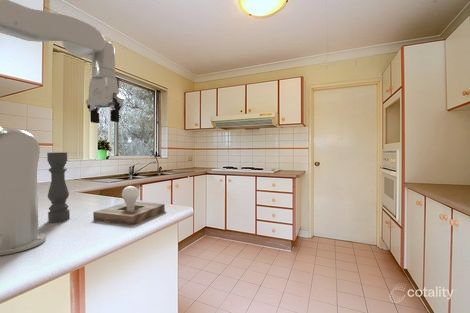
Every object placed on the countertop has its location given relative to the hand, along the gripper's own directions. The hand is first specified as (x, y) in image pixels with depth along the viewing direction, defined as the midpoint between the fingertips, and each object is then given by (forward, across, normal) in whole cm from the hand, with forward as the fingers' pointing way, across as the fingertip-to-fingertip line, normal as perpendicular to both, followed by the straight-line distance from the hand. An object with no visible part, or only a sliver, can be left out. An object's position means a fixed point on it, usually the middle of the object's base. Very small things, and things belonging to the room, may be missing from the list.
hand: (104, 122), depth 82 cm
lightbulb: (+36, +6, +6) cm, 37 cm away
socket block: (+36, +6, +6) cm, 37 cm away
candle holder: (+36, -15, -7) cm, 40 cm away
